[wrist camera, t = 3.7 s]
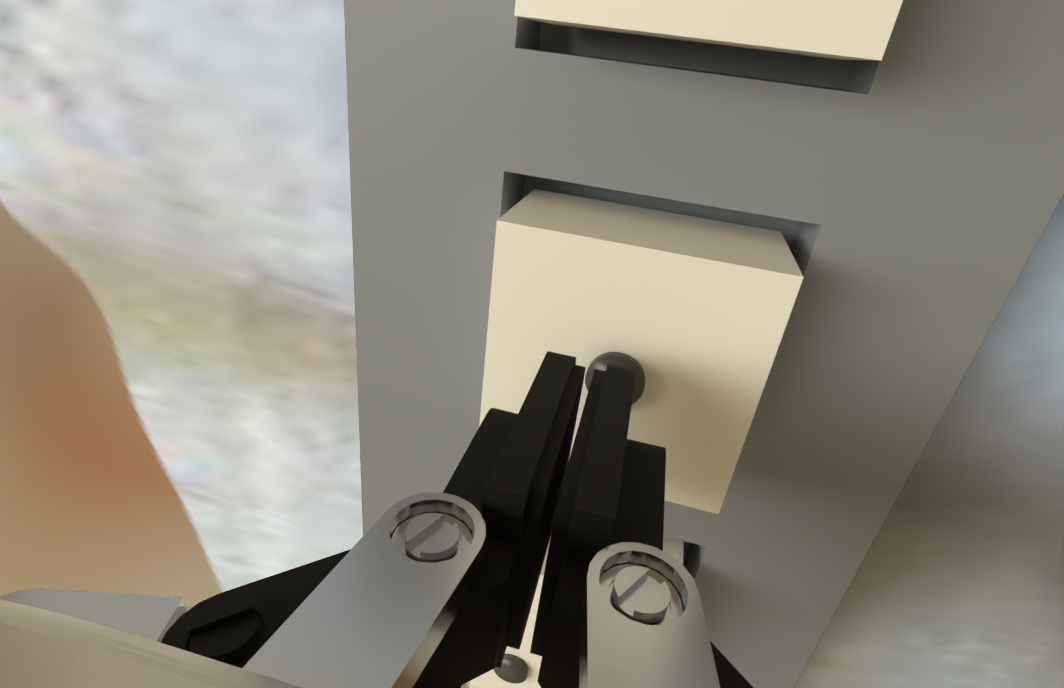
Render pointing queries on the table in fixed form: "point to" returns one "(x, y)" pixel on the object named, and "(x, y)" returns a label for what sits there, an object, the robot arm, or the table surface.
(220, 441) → the table surface
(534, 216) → the tile one
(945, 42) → the tile board
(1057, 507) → the table surface
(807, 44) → the tile three
